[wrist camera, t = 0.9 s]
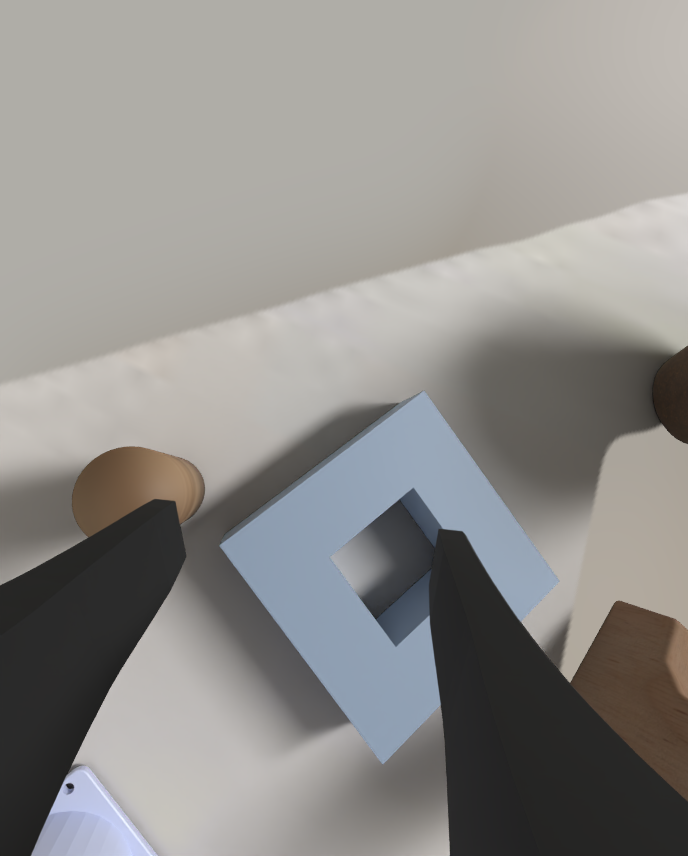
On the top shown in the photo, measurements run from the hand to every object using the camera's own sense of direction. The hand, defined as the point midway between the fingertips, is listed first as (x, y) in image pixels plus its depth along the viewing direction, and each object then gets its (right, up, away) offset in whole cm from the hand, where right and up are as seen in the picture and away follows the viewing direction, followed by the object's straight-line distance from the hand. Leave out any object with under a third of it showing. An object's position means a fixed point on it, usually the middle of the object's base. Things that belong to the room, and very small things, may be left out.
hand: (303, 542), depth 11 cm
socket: (+3, -5, +15) cm, 16 cm away
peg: (-9, -1, +13) cm, 16 cm away
